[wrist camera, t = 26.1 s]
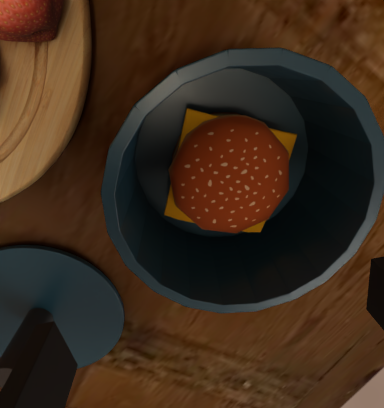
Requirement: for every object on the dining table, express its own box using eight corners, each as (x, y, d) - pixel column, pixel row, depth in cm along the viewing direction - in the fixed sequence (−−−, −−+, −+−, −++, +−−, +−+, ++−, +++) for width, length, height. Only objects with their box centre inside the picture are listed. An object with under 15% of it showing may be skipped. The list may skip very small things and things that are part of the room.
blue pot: (112, 219, 29) (83, 287, 19) (152, 26, 22) (136, -6, 13) (269, 255, 31) (308, 329, 22) (347, 94, 25) (447, 107, 16)
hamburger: (257, 214, 29) (278, 252, 23) (161, 199, 27) (157, 235, 21) (288, 119, 25) (324, 134, 19) (179, 96, 24) (180, 105, 18)
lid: (-40, 351, 35) (-99, 426, 27) (-45, 223, 28) (-125, 278, 20) (110, 372, 38) (94, 445, 30) (140, 261, 31) (129, 322, 23)
